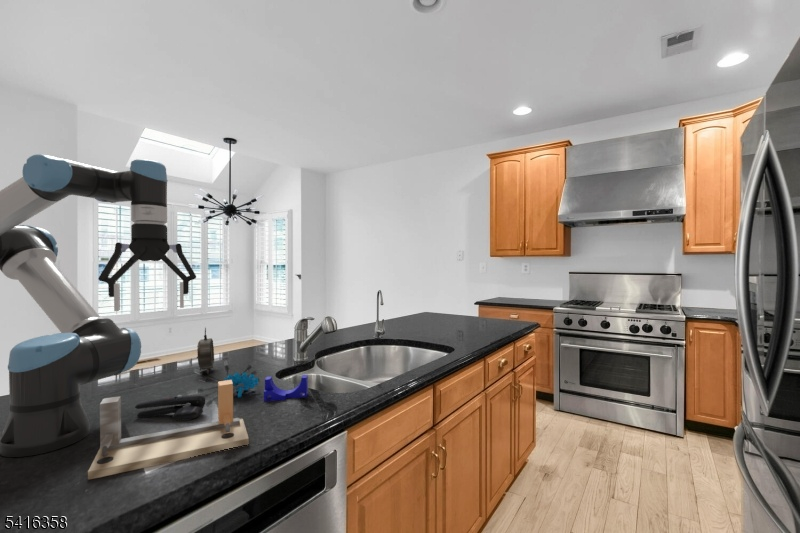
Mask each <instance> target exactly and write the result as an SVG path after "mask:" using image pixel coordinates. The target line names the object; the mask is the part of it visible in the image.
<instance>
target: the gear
mask: <svg viewBox="0 0 800 533" xmlns="http://www.w3.org/2000/svg"><path fill="white" fill-rule="evenodd" d="M226 380H232V382H233V391H237V392H238V393H237V398H242V396H243V395H242V394H243V391H248V390H249V389H255V386H258V385H259V378H258V377H257V376H255V374H253V373H250V374H249V376H248V372H246V371H245V372H242V375H241V374H240V373H239V372H234V373H233V375H232V374H227V377H224V378H223V381H226Z"/></svg>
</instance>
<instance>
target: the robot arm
mask: <svg viewBox="0 0 800 533" xmlns="http://www.w3.org/2000/svg"><path fill="white" fill-rule="evenodd" d="M167 175H168V174H167V168H166V166H165V164H163V163H162V162H160V161H156V160H150V159H144V158H143V159H140V158H139V159H137V158H136V159H133V160H132V161H131V162H130V166H129V170H125V171H124V170H123V171H122V170H121V171H119V170H118V171H116V170H111V169H107V168H103V167H99V166H98V167H97V166H93V165H90V164H85V163H81V162H77V161H73V160H70V159H66V158H65V159H64V158H62V157H58V156H53V155H47V154H40V153H38V154H33V155H31V156H29V157H28V158H26V163H24V164H23V166H22V177H20V178H19V179H17V180H16V181H14V182H12V183H10V184H9V185H7V186H5V187H4V188H3V189H1V190H0V271H1V272H2V274H3V275H4V276H6V278H9V279H12V280H17V281H18V282H19V283H20V284H21V285H22V287H24V289H25V290H26V292H27V293H28V294H29V295H30V296H31V298H32V299H33V300H34V301H35V303H36V304H37V305H38V306H39V307H40V308H41V310H42V311H43V312H44V313H45V315H46V316H47V317H48V318H49V320H50V321H51V322H52V323H53V324H54V325H55V327H56V328H57V329H58V331H59V332H58V333H53V334H45V335H40V336H37V337H33V338H29V339H27V340H24V341H21V342H19V343H16V345H14V347H12V348H11V349H10V350H9V358H8V365H7V370H8V381H9V382H8V387H9V390H8V392H9V414H8V417H7V420H6V423H5V425H4V428H3V431H2V433H1V436H0V456H2V457H6V458H20V457H21V458H22V457H30V456H35V455H41V454H45V453H49V452H54V451H56V450H59V449H62V448H65V447H69V446H70V445H73V444H75V443H77V442H79V441H81V440H83V439H84V438H86V437H87V436H88V435H89V434H90V433H91V422H90V419H89V416H88V415H87V412H86V411H85V409H84V407H83V404H82V401H81V386H82V385H85V384H88V383H92V382H95V381H99V380H103V379H106V378H108V377H112V376H117V375H118V376H119V375H120V374H122V373H125V372H127V371H130V370H131V369H133V367H135V366H136V365H137V363H138V362H139V360H140V357H141V354H142V341H141V338H140V336H139V334H138V333H137V331H136V330H134V329H132V328H130V327H121V328H119V327H118V325H117V324H116V323H115V322H114V321H113V320H112V319H111V318H109V317H101V315H100V314H99V313H98V312H97V311H96V310H95V309H94V307H93V306H91V304H90V303H89V302H88V300H86V298H85V297H84V296H83V295H82V294H81V292H80V291H79V290H78V288H77V287H75V285H74V284H73V283H72V281H70V279H69V278H68V277H67V276H66V275H65V273H63V271H62V270H61V269H60V268H59V266H58V265H57V264H56V262H57V257H58V254H59V248H58V247H57V246H56V245H57V244H58V243H57V241H56V239H55V237H54V236H53V234H52V233H50V232H49V231H48V230H46V229H44V228H43V227H39V226H38V227H37V226H31V225H27V224H22V223H25V221H27V220H29V219H31V218H33V217H34V216H36V215H38V214H40V213H41V212H43V211H44V210H46V209H48V208H50V207H51V206H53V205H55V204H57V203H58V202H60V201H62V200H63V199H65V198H66V197H69V196H77V197H85V198H90V199H95V200H96V201H97V202H101V203H111V204H115V203H121V202H123V203H125V202H130V208H131V209H130V211H131V212H130V216H131V218H130V220H131V222H132V225H131V228H130V229H131V230H130V232H131V233H130V234H131V235H130V236H131V239H130V240H131V242H130V243H122V242H116V243H115V245H114V251H113V253H112V255H111V256H110V258H109V260H108V262H107V263H106V265H105V267H104V268H103V269H102V271H101V273H100V275H99V276H98V281H99V282H103V283H106V284H108V289H107V290H108V297H109V298H113V303H114V304H113V307H114V308H113V311H114V312H119V311H121V288H120V287H121V283H119V282H118V280H120V278H121V277H122V276H124V275H125V273H127V271H129V269H131V267H132V266H133V265H135V263H137V262H138V261H141V262H150V261H152V262H159V261H160V260H161V261H162V262H163V263H165V264H166V265H167V266H168V267H169V268H170V269H171V271H172V272H174V274H176V275H177V276H178V277H179V278H180V280H182V281H179V308H180V309H183V308H184V307H185V301H184V300H185V299H184V295H188V294H189V292H190V291H189V290H190V288H189V286H190V284H189V283H190V282H191V281H193V280H196V279H197V275H196V273H195V272H194V270H193V268H192V266H191V265H190V262H189V261H188V260H187V258H186V256H185V255H184V252H183V246H182V244H181V243H176V244H175V243H174V244H169V243H168V226H167V225H166V224H168V194H167V193H168V176H167ZM21 224H22V225H21ZM128 249H129V251H131V252H132V254H133V255H132V256H131V257H130V258H129V259H128V260H127V261H126V262H125V263H124V264H123V265H121V267H120V268H118V270H117V271H116V272H115V273H114V274H113V275H111V273H112V271H113V269H114V268H115V266H116V265H117V262H118V261H119V259H120V258H121V256H122V255H123V253H125V252H126V251H127V250H128ZM169 250H172V252H173V253H176V254H177V256H178V258H179V260H180V261H181V263H182V265H183V267H184V268H185V270H186V271H187V273H188V275H186V274H185V273H184V272H183V271H182V270H181V269H180V268H179V267H178V266H177V265H176V264H175V263H174V262H172V260H170V258H169V257H168V256H167V255H166V254H167V253H168V252H169ZM110 275H111V277H109V276H110ZM116 282H118V283H116Z"/></svg>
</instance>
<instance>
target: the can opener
mask: <svg viewBox="0 0 800 533" xmlns="http://www.w3.org/2000/svg"><path fill="white" fill-rule="evenodd" d="M205 404H206V398H205V396H203V395H202V394H199V395H198V394H193V395H182V394H178V395H177V396H170V397H169V396H168V397H162V398H155V399H152V400H146V401H142V402H138V403H137V404H136V405H135V407H134V408H135V409H137V410H141V409H144V410H141V411H139V412H137V415H136V417H138V418H151V417H152V418H153V417H158V416H159V417H160V416H162V415H170V414H173V416H172V419H173V420H175V421H189V420H193V419H195V418H197V417H199V416H200V415H201V414H202V413H203V412H204V407H205Z"/></svg>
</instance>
